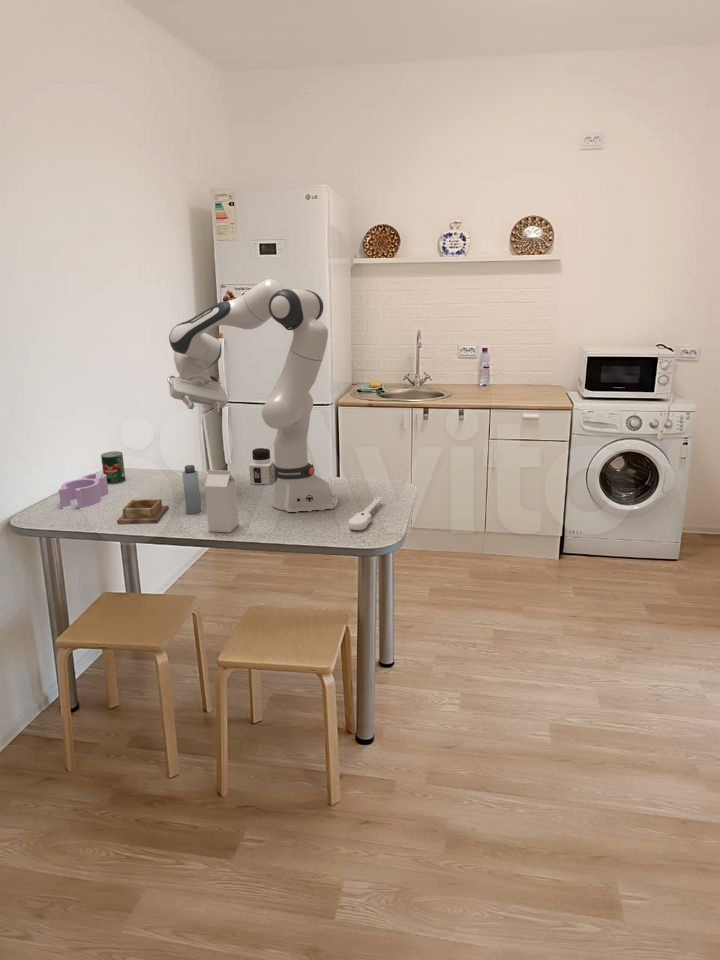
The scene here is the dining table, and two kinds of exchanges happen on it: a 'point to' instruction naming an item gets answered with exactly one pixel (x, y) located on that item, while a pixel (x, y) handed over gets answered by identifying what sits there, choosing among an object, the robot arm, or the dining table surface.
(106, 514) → the dining table surface
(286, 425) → the robot arm
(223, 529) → the milk carton
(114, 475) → the canned tomato
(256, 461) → the container
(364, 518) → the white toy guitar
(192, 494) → the bottle
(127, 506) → the carton stand
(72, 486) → the clip
